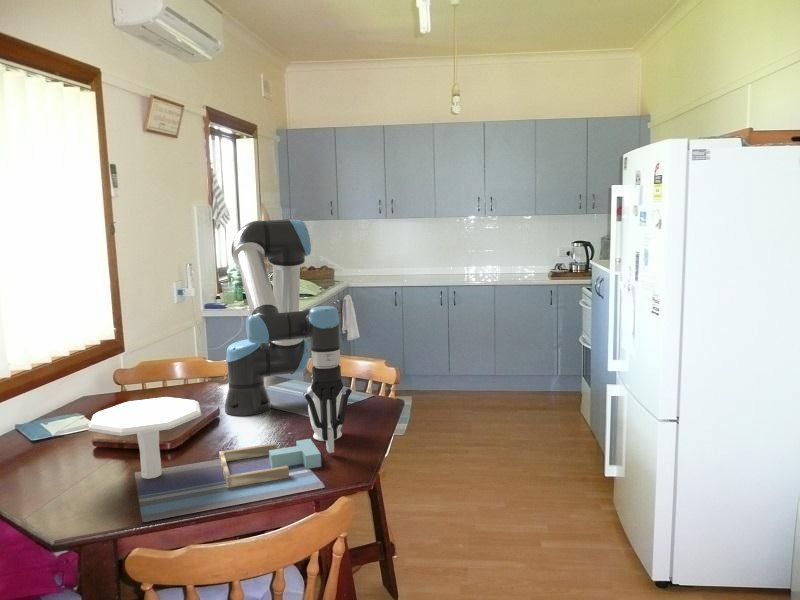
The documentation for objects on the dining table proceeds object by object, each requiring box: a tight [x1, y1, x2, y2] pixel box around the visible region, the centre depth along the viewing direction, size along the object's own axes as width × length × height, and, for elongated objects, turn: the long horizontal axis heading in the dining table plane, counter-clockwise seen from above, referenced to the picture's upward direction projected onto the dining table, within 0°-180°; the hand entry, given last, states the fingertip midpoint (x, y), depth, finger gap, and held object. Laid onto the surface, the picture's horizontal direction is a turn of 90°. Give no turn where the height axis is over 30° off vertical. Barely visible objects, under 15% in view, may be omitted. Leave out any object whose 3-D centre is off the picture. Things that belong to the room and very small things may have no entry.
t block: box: [268, 438, 322, 470], centre depth 167 cm, size 12×12×4 cm
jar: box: [306, 385, 343, 442], centre depth 185 cm, size 11×10×15 cm
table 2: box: [87, 396, 202, 480], centre depth 161 cm, size 28×28×17 cm
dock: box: [218, 442, 290, 489], centre depth 164 cm, size 19×15×2 cm
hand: (330, 450), depth 171 cm, fingers closed
